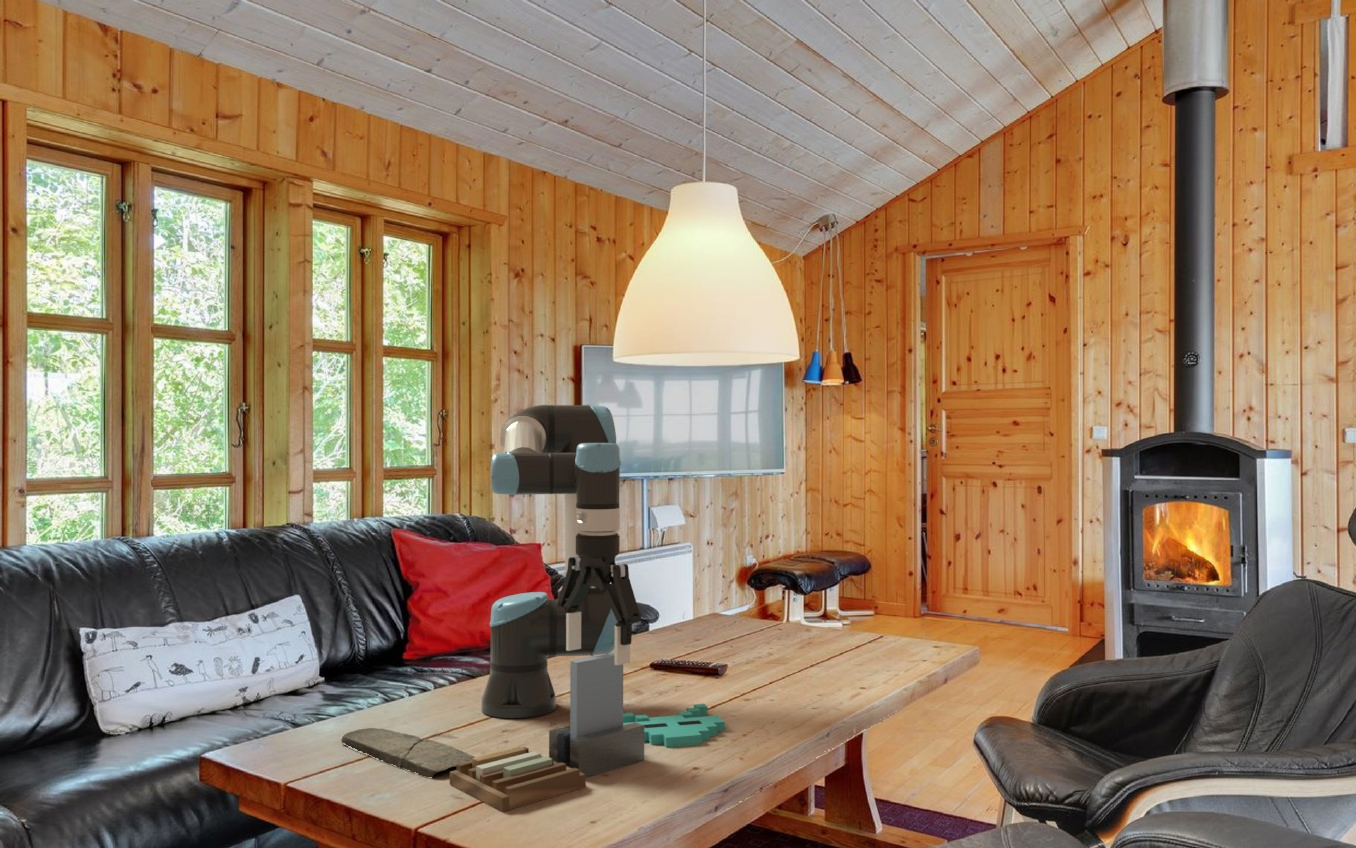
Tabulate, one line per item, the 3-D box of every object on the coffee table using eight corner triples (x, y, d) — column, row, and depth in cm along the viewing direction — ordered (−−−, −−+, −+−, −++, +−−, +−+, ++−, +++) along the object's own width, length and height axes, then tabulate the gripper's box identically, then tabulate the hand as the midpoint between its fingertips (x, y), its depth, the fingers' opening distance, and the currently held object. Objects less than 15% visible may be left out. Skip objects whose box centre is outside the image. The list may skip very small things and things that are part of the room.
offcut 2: (475, 791, 152) (475, 766, 152) (534, 775, 159) (534, 751, 160) (481, 794, 151) (481, 769, 151) (540, 778, 158) (540, 753, 158)
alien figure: (607, 722, 191) (629, 753, 172) (607, 711, 191) (629, 740, 172) (704, 714, 197) (736, 744, 177) (704, 703, 197) (736, 731, 177)
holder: (549, 766, 163) (549, 731, 163) (613, 749, 173) (613, 715, 173) (578, 779, 157) (578, 742, 157) (644, 760, 167) (644, 725, 167)
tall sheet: (570, 762, 162) (570, 661, 163) (616, 750, 169) (616, 652, 169) (576, 765, 161) (576, 662, 161) (623, 752, 168) (623, 654, 168)
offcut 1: (472, 783, 156) (472, 758, 156) (519, 770, 162) (519, 746, 162) (477, 786, 154) (478, 761, 155) (525, 773, 160) (525, 749, 161)
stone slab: (384, 721, 184) (484, 747, 164) (385, 738, 183) (484, 766, 164) (334, 735, 176) (433, 764, 156) (335, 753, 176) (433, 784, 156)
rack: (449, 784, 155) (449, 765, 155) (530, 763, 165) (530, 745, 165) (502, 811, 143) (502, 791, 143) (585, 787, 154) (585, 768, 154)
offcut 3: (503, 793, 151) (503, 767, 151) (545, 781, 157) (545, 756, 157) (509, 796, 150) (509, 770, 150) (552, 784, 155) (552, 759, 155)
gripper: (538, 528, 172) (537, 647, 172) (626, 541, 154) (626, 674, 154) (572, 525, 177) (571, 641, 177) (662, 537, 159) (661, 666, 159)
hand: (597, 656), depth 166 cm, fingers open, 13 cm apart
